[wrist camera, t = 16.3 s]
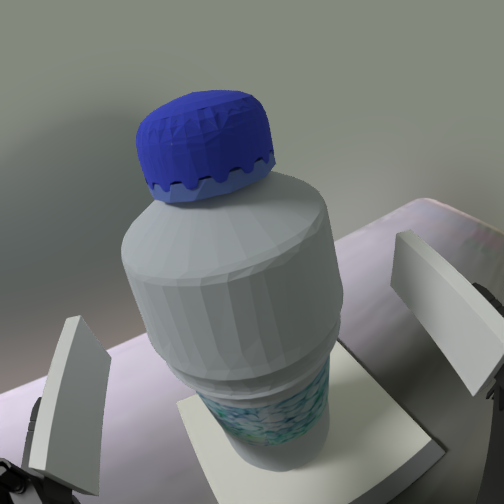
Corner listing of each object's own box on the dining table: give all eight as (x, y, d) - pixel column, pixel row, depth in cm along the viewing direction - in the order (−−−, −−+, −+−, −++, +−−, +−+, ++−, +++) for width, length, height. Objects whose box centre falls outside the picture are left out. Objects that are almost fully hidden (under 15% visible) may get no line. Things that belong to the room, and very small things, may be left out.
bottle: (324, 390, 20) (302, 73, 9) (337, 472, 14) (380, 70, 3) (235, 400, 20) (123, 113, 9) (232, 482, 15) (-1, 173, 4)
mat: (258, 569, 9) (256, 570, 9) (179, 405, 21) (175, 401, 21) (442, 455, 13) (445, 452, 13) (326, 334, 25) (326, 329, 24)
